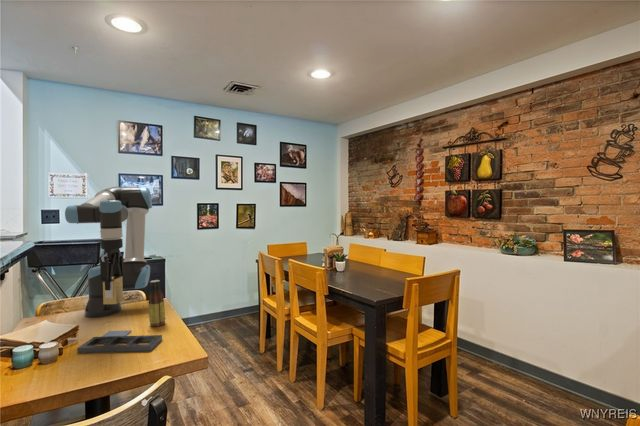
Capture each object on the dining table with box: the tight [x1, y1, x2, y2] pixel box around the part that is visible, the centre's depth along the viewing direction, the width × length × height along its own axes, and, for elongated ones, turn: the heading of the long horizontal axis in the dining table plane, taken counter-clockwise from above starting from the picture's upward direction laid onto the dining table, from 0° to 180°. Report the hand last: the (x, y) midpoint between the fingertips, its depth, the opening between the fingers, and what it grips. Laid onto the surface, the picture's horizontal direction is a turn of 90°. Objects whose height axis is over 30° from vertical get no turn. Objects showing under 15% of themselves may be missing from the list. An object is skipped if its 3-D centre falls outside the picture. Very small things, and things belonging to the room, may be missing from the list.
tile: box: [100, 329, 132, 337], centre depth 138 cm, size 9×9×1 cm
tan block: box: [103, 276, 124, 304], centre depth 137 cm, size 5×5×10 cm
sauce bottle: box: [148, 279, 166, 328], centre depth 150 cm, size 7×6×20 cm
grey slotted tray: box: [76, 334, 163, 354], centre depth 128 cm, size 10×26×2 cm, turn 93°
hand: (113, 295), depth 137 cm, fingers closed on tan block, 5 cm apart
